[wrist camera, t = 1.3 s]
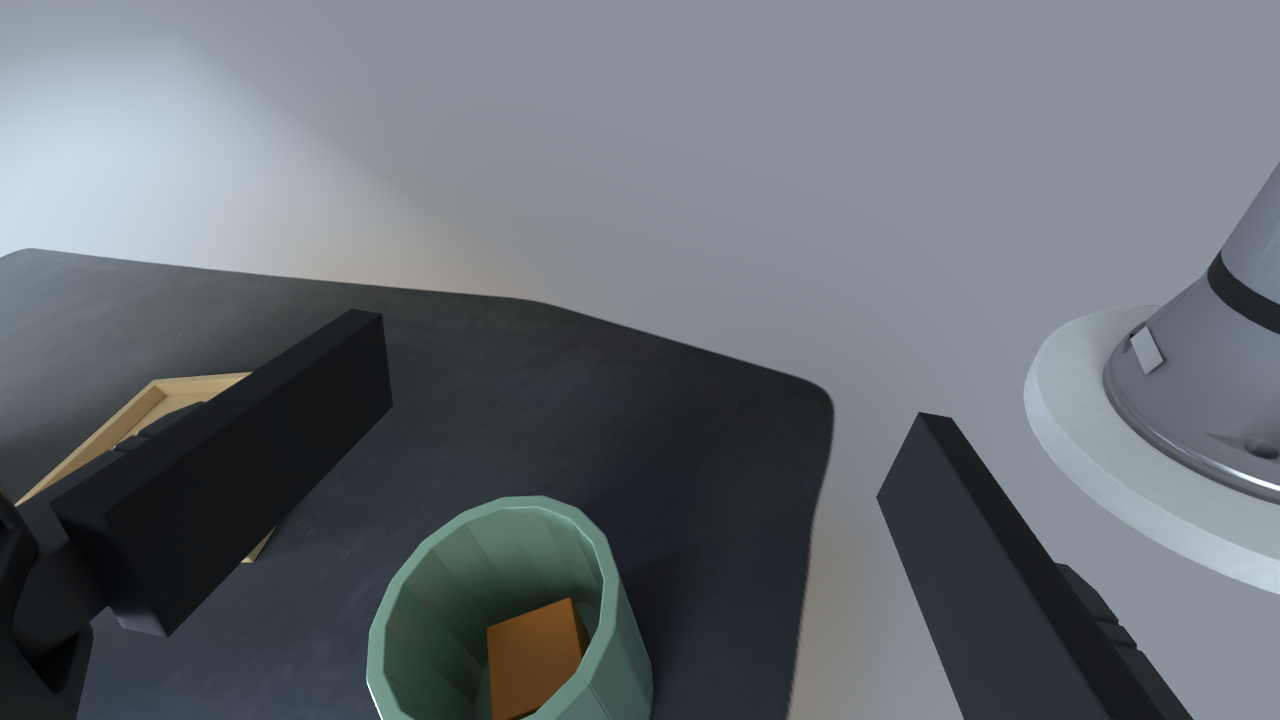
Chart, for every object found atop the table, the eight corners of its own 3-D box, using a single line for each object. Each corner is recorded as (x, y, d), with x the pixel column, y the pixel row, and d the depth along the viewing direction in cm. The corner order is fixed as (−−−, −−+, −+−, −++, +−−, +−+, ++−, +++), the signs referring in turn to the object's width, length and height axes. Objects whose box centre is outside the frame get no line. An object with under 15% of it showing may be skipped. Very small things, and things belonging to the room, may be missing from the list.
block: (588, 631, 27) (570, 596, 24) (606, 717, 24) (588, 688, 21) (512, 659, 26) (485, 627, 23) (521, 751, 23) (492, 725, 20)
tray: (372, 379, 47) (361, 362, 46) (253, 562, 34) (233, 546, 32) (168, 394, 50) (153, 379, 49) (-14, 568, 37) (-42, 554, 35)
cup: (656, 597, 28) (627, 491, 22) (649, 821, 21) (603, 763, 15) (497, 599, 29) (424, 499, 23) (442, 811, 23) (315, 753, 16)
